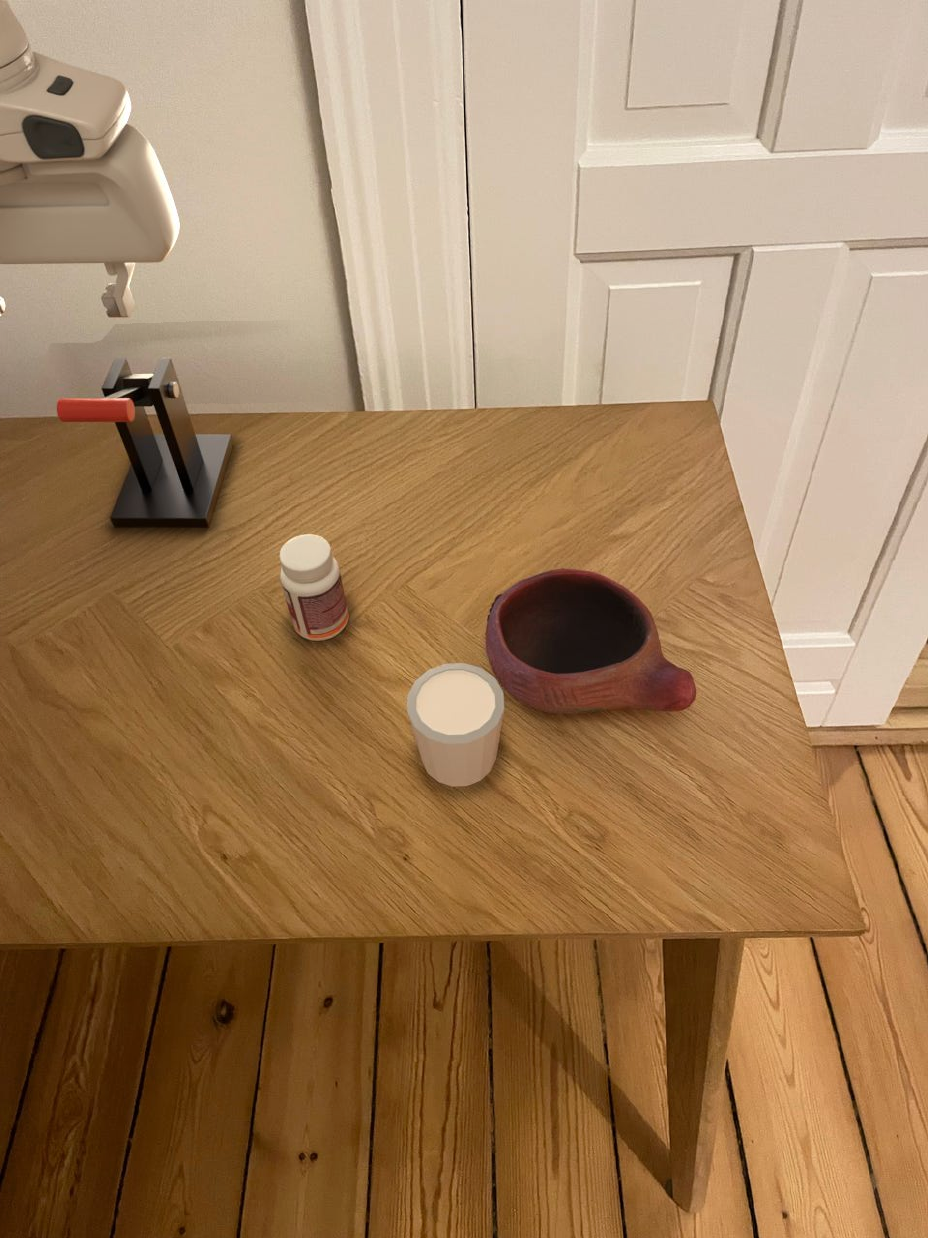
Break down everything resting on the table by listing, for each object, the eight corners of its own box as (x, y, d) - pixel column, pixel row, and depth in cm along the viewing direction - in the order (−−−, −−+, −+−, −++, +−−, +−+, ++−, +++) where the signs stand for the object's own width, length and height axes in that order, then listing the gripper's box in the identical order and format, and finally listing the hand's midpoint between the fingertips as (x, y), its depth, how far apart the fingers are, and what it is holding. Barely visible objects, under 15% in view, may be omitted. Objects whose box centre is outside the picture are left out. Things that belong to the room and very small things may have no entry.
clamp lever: (128, 427, 73) (124, 396, 72) (59, 427, 73) (53, 396, 72) (180, 401, 84) (177, 373, 83) (120, 401, 84) (116, 373, 83)
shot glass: (521, 740, 71) (523, 687, 66) (473, 810, 68) (470, 760, 62) (445, 702, 74) (441, 647, 68) (395, 767, 70) (386, 714, 65)
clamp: (208, 527, 87) (171, 416, 77) (113, 527, 87) (64, 416, 77) (234, 443, 94) (202, 332, 85) (146, 443, 95) (104, 332, 85)
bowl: (468, 724, 72) (465, 662, 66) (503, 601, 80) (504, 535, 74) (679, 765, 69) (696, 704, 63) (694, 633, 77) (711, 567, 71)
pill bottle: (359, 609, 80) (346, 540, 74) (331, 649, 77) (315, 581, 71) (311, 592, 81) (295, 523, 75) (282, 631, 79) (262, 563, 72)
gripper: (-223, 134, 54) (-104, 340, 65) (123, 128, 53) (186, 338, 64) (-172, 89, 58) (-67, 290, 69) (150, 82, 57) (206, 287, 68)
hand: (57, 313), depth 67 cm, fingers open, 8 cm apart
